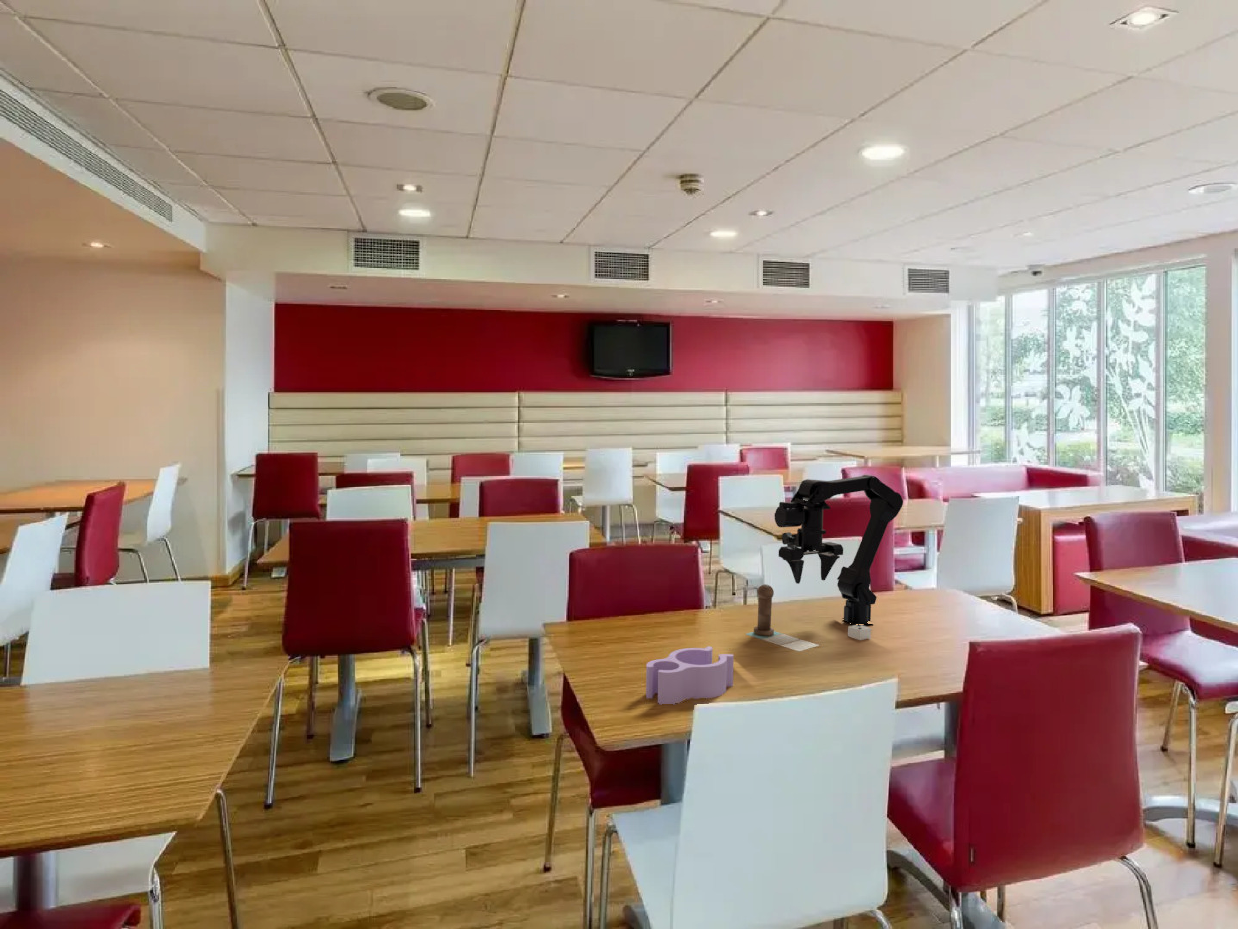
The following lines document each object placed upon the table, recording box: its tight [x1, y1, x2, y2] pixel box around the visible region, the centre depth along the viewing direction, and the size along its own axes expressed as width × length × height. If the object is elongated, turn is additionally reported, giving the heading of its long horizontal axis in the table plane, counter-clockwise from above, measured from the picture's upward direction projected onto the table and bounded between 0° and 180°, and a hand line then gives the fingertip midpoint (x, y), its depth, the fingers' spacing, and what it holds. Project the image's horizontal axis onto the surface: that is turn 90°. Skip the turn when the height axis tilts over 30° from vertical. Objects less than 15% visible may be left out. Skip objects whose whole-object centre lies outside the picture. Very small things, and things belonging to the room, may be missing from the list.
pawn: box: [753, 584, 775, 638], centre depth 195 cm, size 5×5×13 cm
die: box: [847, 624, 872, 641], centre depth 194 cm, size 4×4×4 cm
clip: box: [645, 645, 734, 705], centre depth 160 cm, size 20×12×7 cm, turn 127°
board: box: [746, 630, 820, 652], centre depth 191 cm, size 19×9×1 cm, turn 38°
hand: (810, 581), depth 205 cm, fingers open, 9 cm apart
